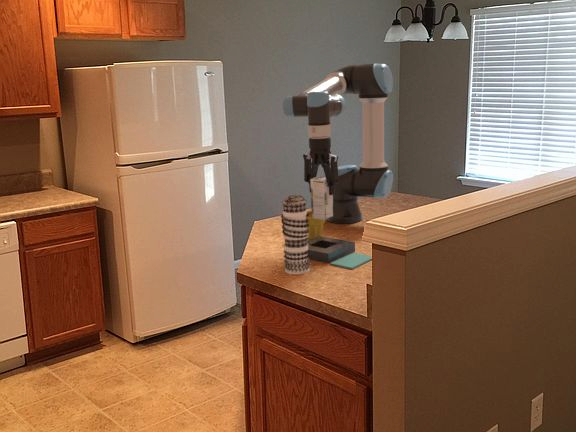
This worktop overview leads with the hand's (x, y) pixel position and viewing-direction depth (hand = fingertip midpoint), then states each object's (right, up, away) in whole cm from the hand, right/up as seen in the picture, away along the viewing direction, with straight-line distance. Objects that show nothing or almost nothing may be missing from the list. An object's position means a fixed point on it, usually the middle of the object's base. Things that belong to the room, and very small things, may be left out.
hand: (322, 202), depth 223 cm
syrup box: (0, -5, +1) cm, 6 cm away
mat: (+10, -20, -6) cm, 23 cm away
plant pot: (-2, -13, +25) cm, 28 cm away
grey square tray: (+1, -18, +4) cm, 19 cm away
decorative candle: (-9, -23, -12) cm, 27 cm away
